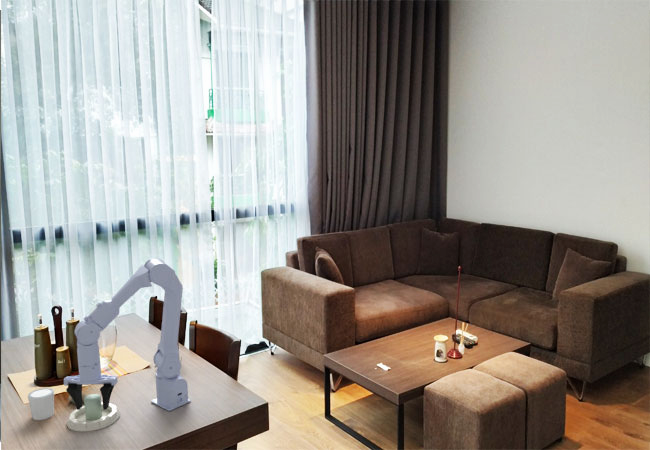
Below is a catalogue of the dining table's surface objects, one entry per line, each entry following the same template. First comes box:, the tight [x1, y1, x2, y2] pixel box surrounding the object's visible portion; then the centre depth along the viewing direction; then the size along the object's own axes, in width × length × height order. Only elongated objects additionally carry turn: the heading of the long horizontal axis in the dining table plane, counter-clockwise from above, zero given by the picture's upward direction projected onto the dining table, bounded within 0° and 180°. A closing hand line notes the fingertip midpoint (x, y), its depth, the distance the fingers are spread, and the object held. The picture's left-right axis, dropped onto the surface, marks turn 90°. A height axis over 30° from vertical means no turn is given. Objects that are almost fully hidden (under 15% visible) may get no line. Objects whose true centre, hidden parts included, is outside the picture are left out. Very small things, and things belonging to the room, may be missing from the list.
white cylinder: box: [27, 387, 55, 421], centre depth 162 cm, size 7×7×7 cm
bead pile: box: [67, 391, 89, 405], centre depth 170 cm, size 6×5×2 cm
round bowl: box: [66, 401, 121, 433], centre depth 160 cm, size 14×14×2 cm
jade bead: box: [83, 393, 102, 421], centre depth 160 cm, size 4×4×6 cm
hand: (93, 408), depth 160 cm, fingers open, 7 cm apart
